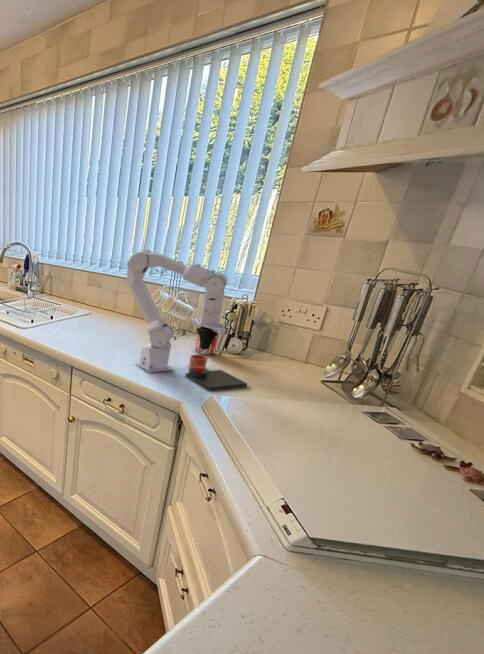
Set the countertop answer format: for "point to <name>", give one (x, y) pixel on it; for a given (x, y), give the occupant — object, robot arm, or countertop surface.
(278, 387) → the countertop surface
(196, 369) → the button
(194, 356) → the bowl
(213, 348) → the soda can
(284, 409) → the countertop surface
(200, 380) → the scale
